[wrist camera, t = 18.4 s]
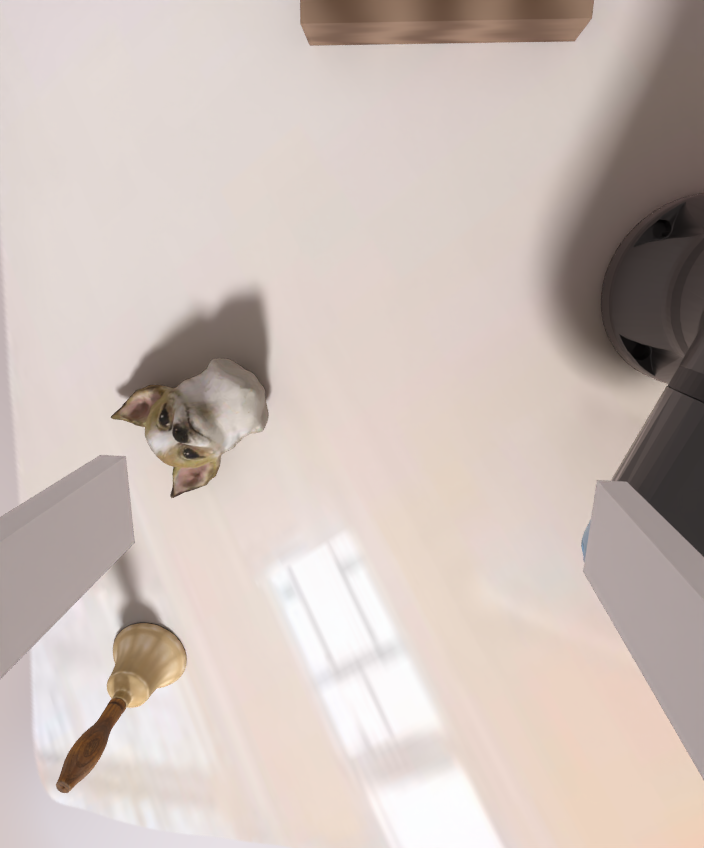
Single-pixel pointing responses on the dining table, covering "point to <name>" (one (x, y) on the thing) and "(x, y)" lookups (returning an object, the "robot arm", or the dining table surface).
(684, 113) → the dining table surface
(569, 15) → the tray
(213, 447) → the ceramic sculpture
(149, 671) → the hand bell
